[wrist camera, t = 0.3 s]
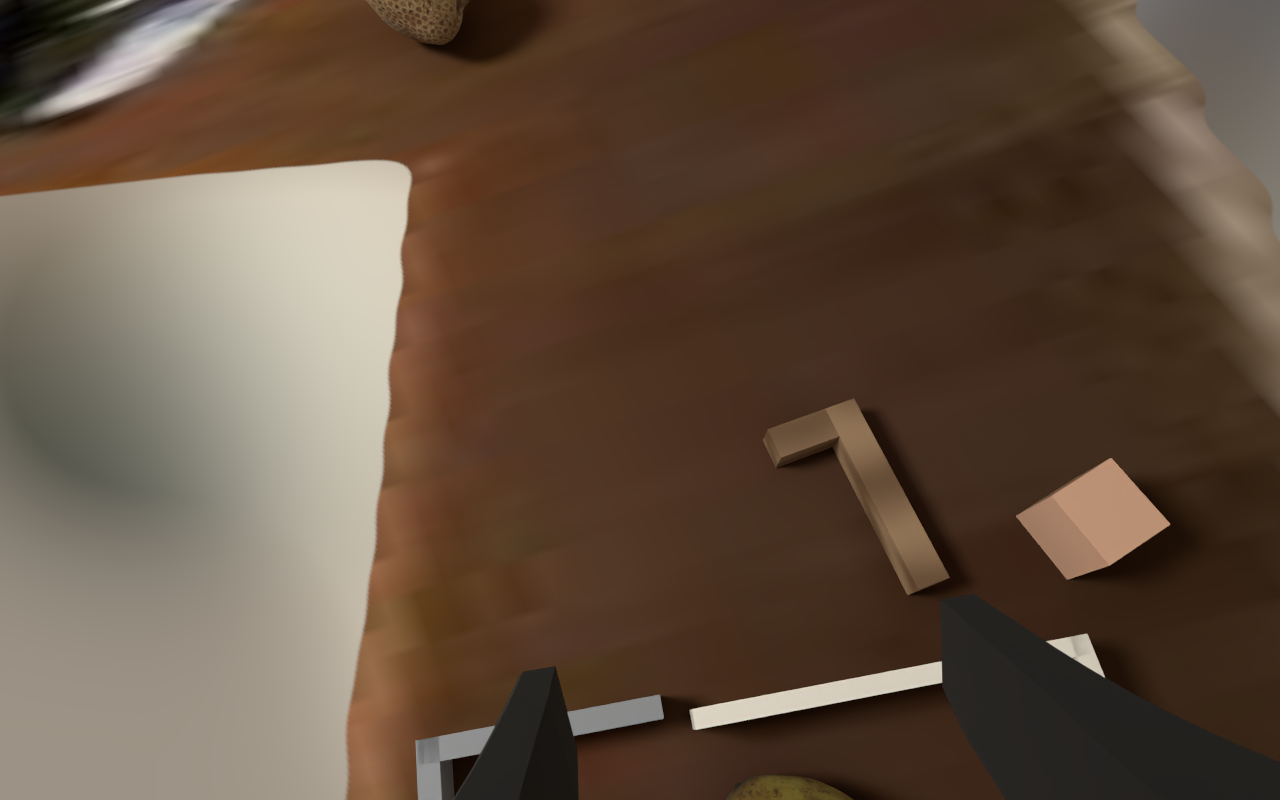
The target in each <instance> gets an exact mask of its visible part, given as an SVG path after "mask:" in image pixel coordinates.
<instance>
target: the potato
mask: <svg viewBox="0 0 1280 800" xmlns="http://www.w3.org/2000/svg"><path fill="white" fill-rule="evenodd" d="M726 800H854V799H852V798H851V797H849V796H847V795H846V794H844V793H842V792H841V791H839V790H837V789H835V788H833V787H831V786H829V785H826V784H824V783H823V782H820V781H817V780H815V779H811V778H807V777H801V776H786V775H758V776H752V777H749V778H747V779H745V780H744V781H742V782H740V783H738V784H736V785H735V788H734V789H733V790H732V791H730V793H729V794H728V795H727V797H726Z"/></svg>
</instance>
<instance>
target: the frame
mask: <svg viewBox="0 0 1280 800" xmlns="http://www.w3.org/2000/svg"><path fill="white" fill-rule="evenodd" d="M567 713H568V717H569V720H570V724H571V728H572V732H573V736H576V735H581V734H586V733H592V732H597V731H602V730H607V729H613V728H618V727H623V726H628V725H634V724H639V723H644V722H649V721H654V720H660V719H664V715H663V710H662V704H661V698H660V695H655V696H650V697H644V698H639V699H634V700H629V701H623V702H618V703H613V704H608V705H602V706H597V707H592V708H586V709H581V710H576V711H571V712H567ZM494 727H495V726H491V727H486V728H481V729H475V730H470V731H465V732H460V733H454V734H449V735H444V736H438V737H433V738H428V739H423V740H417V741H416V760H417V783H418V800H453V799H454V797H455V796H454V779H453V763H452V759H456V758H461V757H466V756H471V755H477V754H480V753H481V751H482V749H483V748H484V746H485V744H486V742H487V740H488V739H489V737H490V735H491V733H492V731H493V729H494Z"/></svg>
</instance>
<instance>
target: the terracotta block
mask: <svg viewBox="0 0 1280 800" xmlns="http://www.w3.org/2000/svg"><path fill="white" fill-rule="evenodd" d="M1016 517H1017V518H1018V519H1019V521H1020V522H1021V523H1022V524H1023V526H1024V527H1025V528H1026V529H1027V530H1028V532H1029V533H1030V534H1031V535H1032V537H1033V538H1034V539H1035V540H1036V542H1037V543H1038V544H1039V545H1040V547H1041V548H1042V549H1043V550H1044V551H1045V553H1046V554H1047V555H1048V556H1049V558H1050V559H1051V560H1052V561H1053V563H1054V564H1055V565H1056V566H1057V568H1058V569H1059V570H1060V571H1061V572H1062V574H1063V575H1064V576H1065V577H1066V579H1067V580H1068V579H1071V578H1074V577H1077V576H1080V575H1083V574H1086V573H1089V572H1092V571H1095V570H1098V569H1101V568H1104V567H1107V566H1110V565H1111V564H1113V563H1114V562H1116V561H1117V560H1119V559H1120V558H1122V557H1123V556H1125V555H1126V554H1128V553H1129V552H1131V551H1132V550H1133V549H1135V548H1136V547H1138V546H1139V545H1141V544H1142V543H1144V542H1145V541H1147V540H1148V539H1150V538H1151V537H1153V536H1154V535H1156V534H1157V533H1159V532H1160V531H1162V530H1163V529H1164V528H1166V527H1167V526H1169V525H1170V523H1169V522H1168V521H1167V520H1166V519H1165V517H1164V516H1163V515H1162V514H1161V513H1160V512H1159V511H1158V510H1157V509H1156V507H1155V506H1154V505H1153V504H1152V503H1151V502H1150V501H1149V500H1148V498H1147V497H1146V496H1145V495H1144V494H1143V493H1142V492H1141V491H1140V490H1139V488H1138V487H1137V486H1136V485H1135V484H1134V483H1133V482H1132V481H1131V480H1130V478H1129V477H1128V476H1127V475H1126V474H1125V473H1124V472H1123V471H1122V469H1121V468H1120V467H1119V466H1118V465H1117V464H1116V463H1115V462H1114V461H1113V459H1112V458H1110V459H1108V460H1106V461H1104V462H1103V463H1101V464H1099V465H1098V466H1096V467H1094V468H1092V469H1091V470H1089V471H1087V472H1085V473H1084V474H1082V475H1080V476H1078V477H1077V478H1075V479H1073V480H1071V481H1070V482H1068V483H1067V484H1065V485H1063V486H1062V487H1060V488H1059V489H1057V490H1056V491H1054V492H1053V493H1051V494H1049V495H1048V496H1046V497H1045V498H1043V499H1042V500H1040V501H1038V502H1037V503H1035V504H1034V505H1032V506H1031V507H1029V508H1028V509H1026V510H1024V511H1023V512H1021V513H1020V514H1018V515H1017V516H1016Z"/></svg>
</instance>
